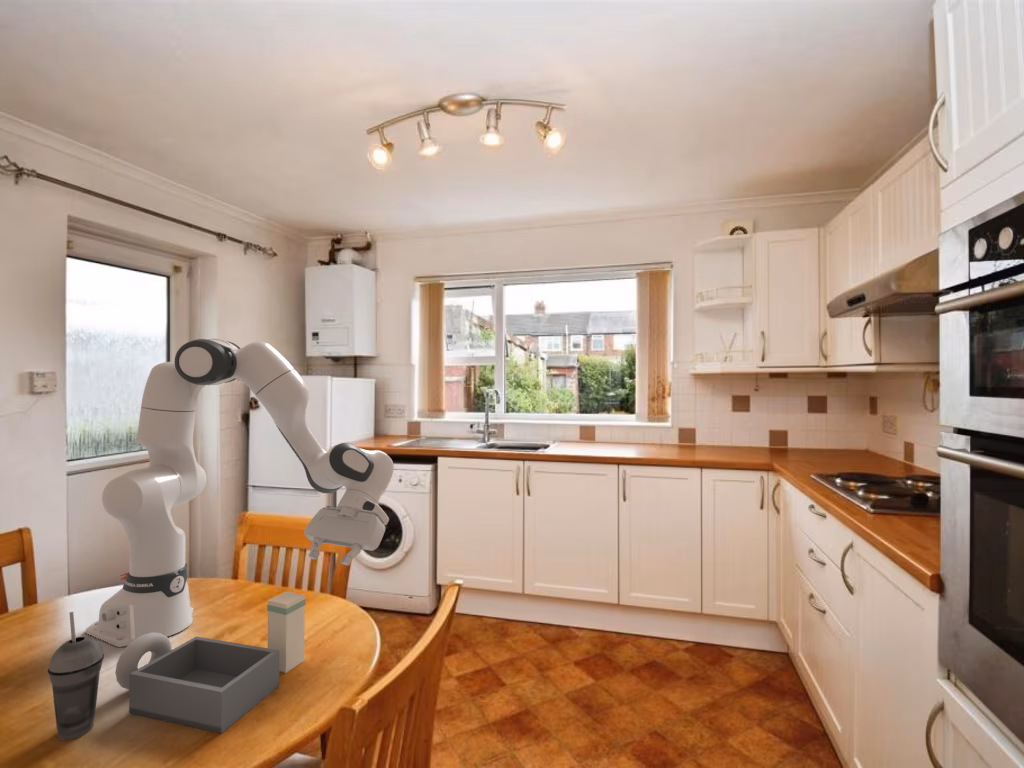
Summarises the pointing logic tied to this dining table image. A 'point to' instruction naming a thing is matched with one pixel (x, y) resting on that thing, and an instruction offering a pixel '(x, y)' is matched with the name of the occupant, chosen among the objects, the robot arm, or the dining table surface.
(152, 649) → the donut
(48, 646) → the dining table surface
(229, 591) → the dining table surface
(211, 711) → the box
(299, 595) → the juice carton
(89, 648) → the beverage cup
